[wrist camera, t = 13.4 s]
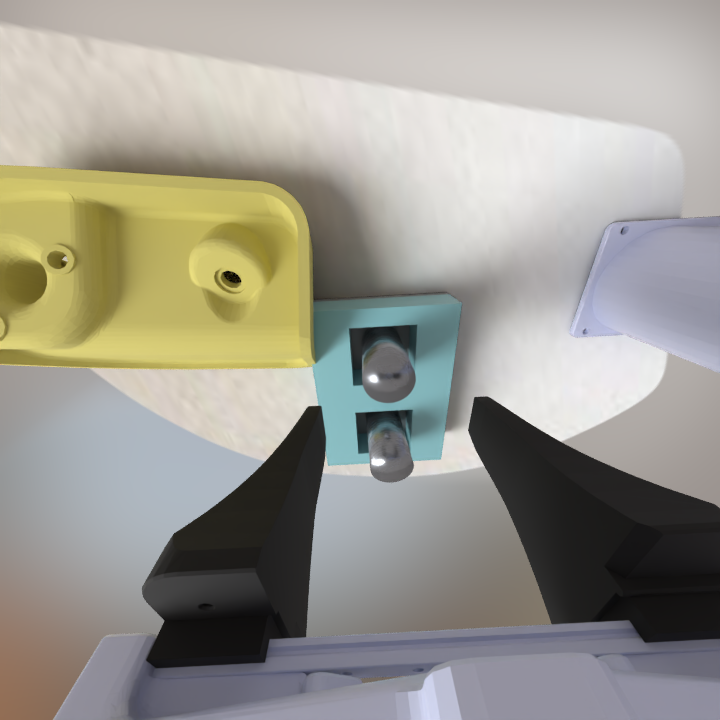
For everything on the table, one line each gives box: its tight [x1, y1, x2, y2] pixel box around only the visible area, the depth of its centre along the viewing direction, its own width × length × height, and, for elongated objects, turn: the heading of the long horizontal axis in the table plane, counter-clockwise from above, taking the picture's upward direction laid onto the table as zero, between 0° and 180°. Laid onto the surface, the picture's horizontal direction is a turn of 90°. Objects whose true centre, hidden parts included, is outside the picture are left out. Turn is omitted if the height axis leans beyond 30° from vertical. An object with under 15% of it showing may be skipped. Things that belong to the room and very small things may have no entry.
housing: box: [312, 292, 462, 466], centre depth 21 cm, size 10×14×3 cm
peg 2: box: [365, 410, 414, 482], centre depth 21 cm, size 3×3×6 cm
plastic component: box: [0, 165, 316, 369], centre depth 16 cm, size 20×7×10 cm
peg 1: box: [362, 326, 416, 403], centre depth 17 cm, size 3×3×6 cm
